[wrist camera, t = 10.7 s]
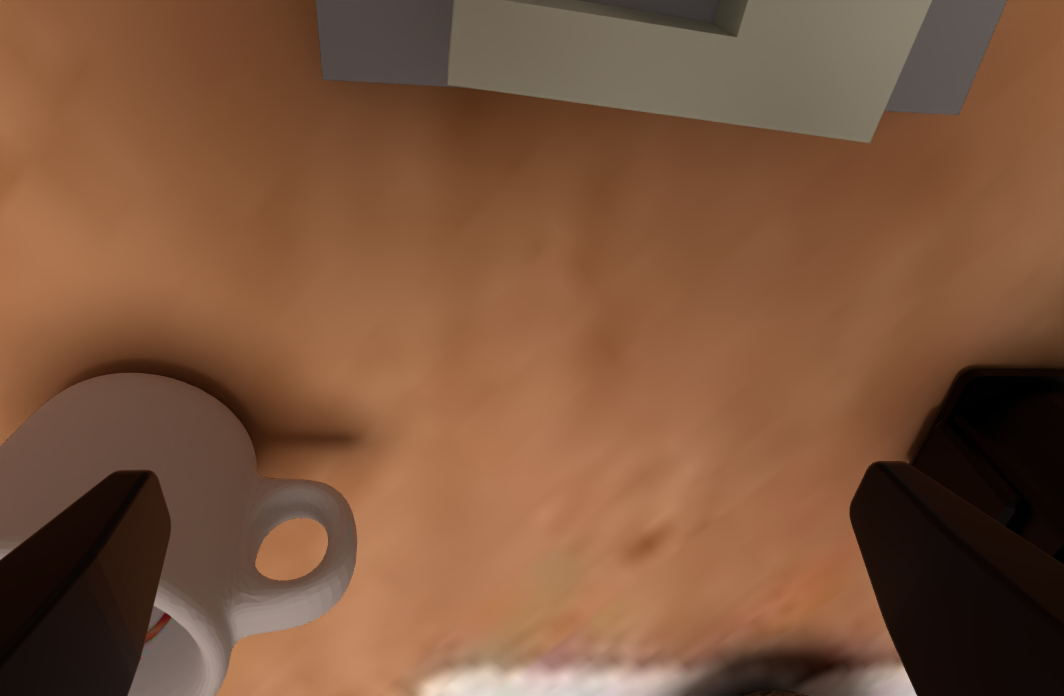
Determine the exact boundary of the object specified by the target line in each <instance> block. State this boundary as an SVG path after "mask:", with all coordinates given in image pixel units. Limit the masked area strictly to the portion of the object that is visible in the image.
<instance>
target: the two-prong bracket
mask: <svg viewBox="0 0 1064 696" xmlns="http://www.w3.org/2000/svg"><path fill="white" fill-rule="evenodd" d="M931 2H932V0H720V3H719V7H718V10H717V14H716V18H715V21H714V23H713V22H707V21H701V20H695V19H689V18H682V17H676V16H670V15H664V14H658V13H652V12H646V11H640V10H633V9H627V8H621V7H615V6H609V5H603V4H597V3H591V2H584V1H578V0H454V1H453V13H452V24H451V36H450V47H449V58H448V85H452V86H460V87H467V88H474V89H481V90H489V91H496V92H503V93H510V94H518V95H525V96H532V97H539V98H547V99H554V100H561V101H568V102H576V103H583V104H590V105H597V106H605V107H612V108H619V109H626V110H633V111H641V112H648V113H655V114H662V115H670V116H677V117H684V118H691V119H699V120H706V121H713V122H720V123H728V124H735V125H742V126H749V127H757V128H764V129H771V130H778V131H786V132H793V133H800V134H807V135H814V136H822V137H829V138H836V139H843V140H851V141H858V142H865V143H870V142H871V140H872V137H873V135H874V133H875V130H876V128H877V126H878V123H879V121H880V119H881V117H882V114H883V112H884V110H885V107H886V105H887V103H888V101H889V98H890V96H891V94H892V91H893V89H894V87H895V84H896V82H897V80H898V78H899V75H900V73H901V71H902V68H903V66H904V64H905V61H906V59H907V57H908V55H909V52H910V50H911V48H912V45H913V43H914V41H915V39H916V36H917V34H918V32H919V29H920V27H921V25H922V22H923V20H924V18H925V16H926V13H927V11H928V9H929V6H930V4H931Z"/></svg>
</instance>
